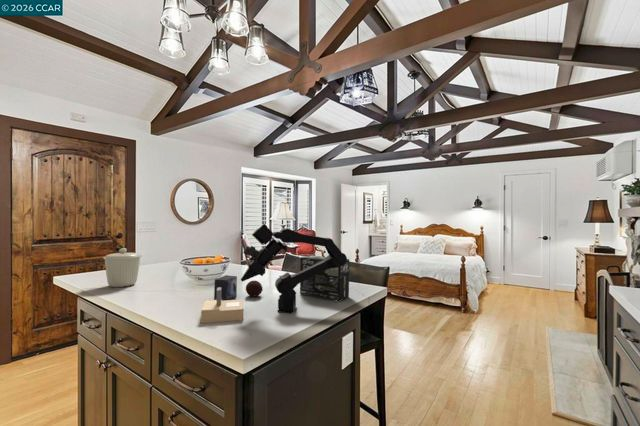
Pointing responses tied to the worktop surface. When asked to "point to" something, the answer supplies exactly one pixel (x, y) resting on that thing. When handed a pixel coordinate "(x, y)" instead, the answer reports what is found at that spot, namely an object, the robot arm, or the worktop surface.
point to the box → (325, 280)
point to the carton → (224, 312)
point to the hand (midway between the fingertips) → (241, 280)
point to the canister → (122, 268)
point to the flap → (213, 303)
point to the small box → (226, 287)
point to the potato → (254, 288)
